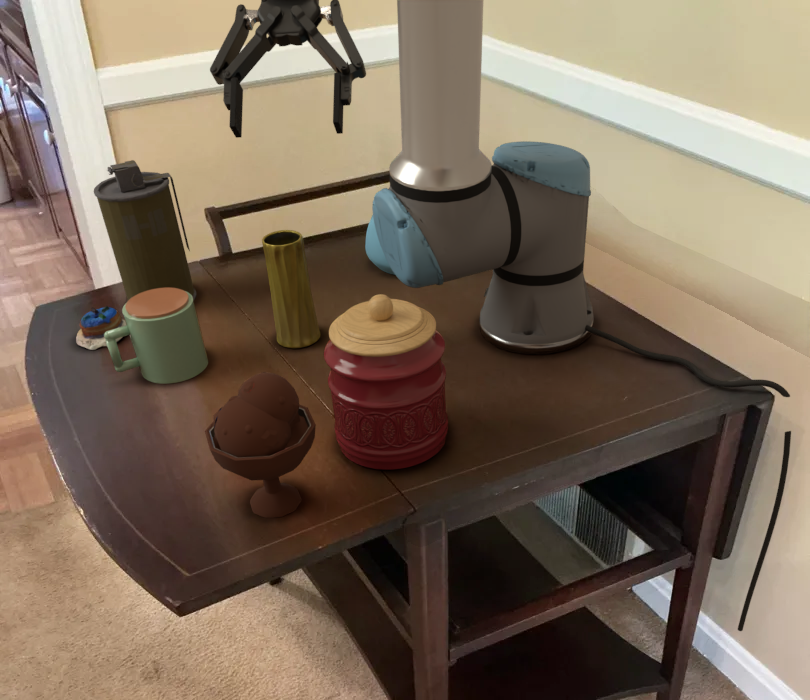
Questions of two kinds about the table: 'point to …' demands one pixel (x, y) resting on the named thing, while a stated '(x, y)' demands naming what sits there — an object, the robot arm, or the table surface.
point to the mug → (161, 336)
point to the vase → (290, 289)
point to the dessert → (98, 327)
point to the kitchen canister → (387, 383)
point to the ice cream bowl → (263, 440)
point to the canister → (144, 229)
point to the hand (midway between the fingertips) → (286, 130)
